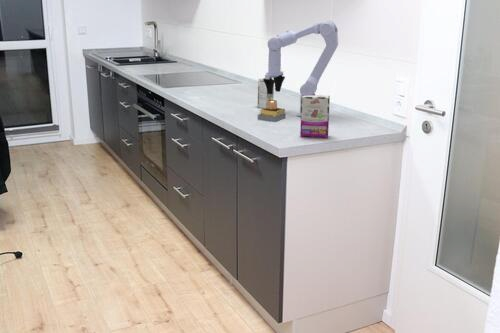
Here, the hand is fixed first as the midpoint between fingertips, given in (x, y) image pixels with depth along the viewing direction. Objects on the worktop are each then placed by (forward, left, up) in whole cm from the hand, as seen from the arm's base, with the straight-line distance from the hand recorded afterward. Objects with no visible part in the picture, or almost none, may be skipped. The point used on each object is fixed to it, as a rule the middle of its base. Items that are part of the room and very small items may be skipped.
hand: (273, 92), depth 266 cm
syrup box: (+10, -10, -10) cm, 17 cm away
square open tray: (-5, +11, -10) cm, 16 cm away
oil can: (-5, +10, -8) cm, 14 cm away
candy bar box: (-35, +30, -10) cm, 47 cm away
